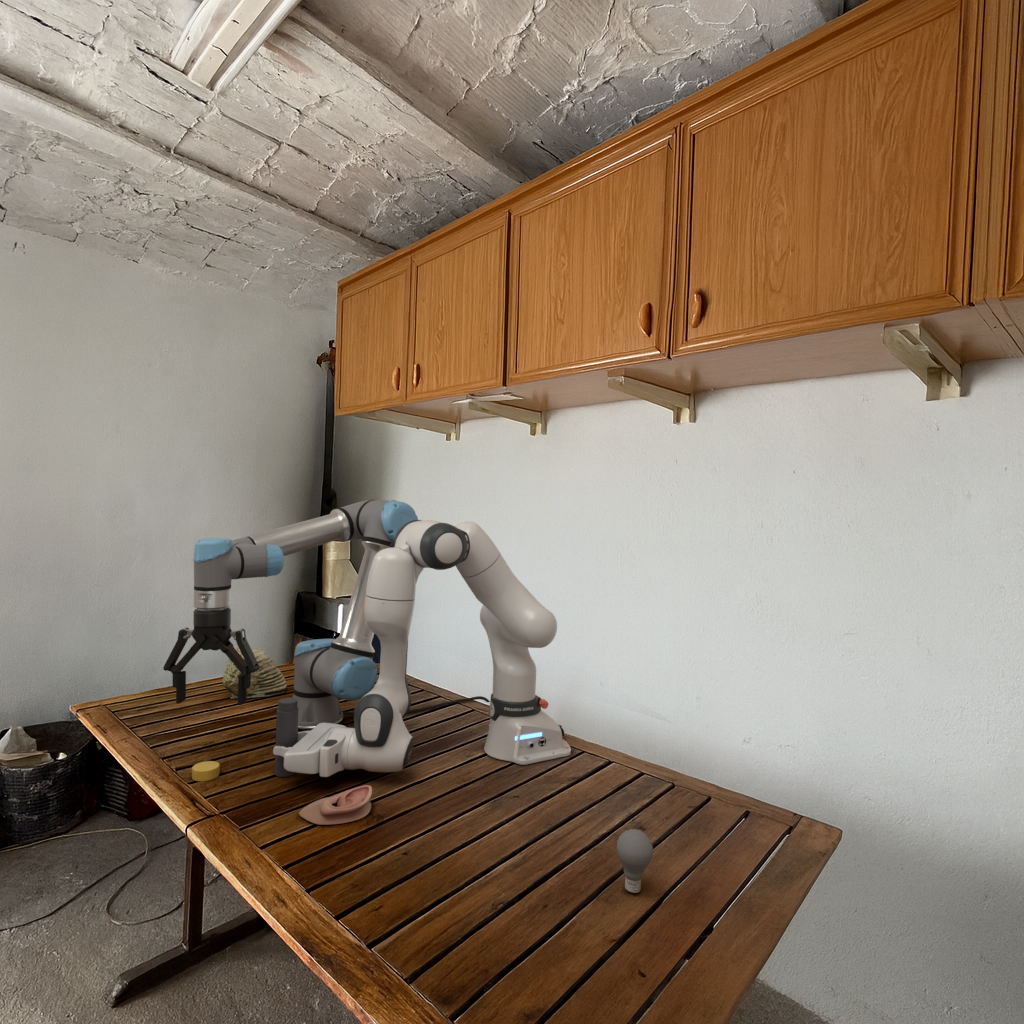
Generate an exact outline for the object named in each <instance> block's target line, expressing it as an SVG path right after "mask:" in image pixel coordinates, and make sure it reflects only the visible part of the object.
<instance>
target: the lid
mask: <svg viewBox="0 0 1024 1024" xmlns="http://www.w3.org/2000/svg"><path fill="white" fill-rule="evenodd" d="M220 771H221V766H220V763H219V762H218V761H215V760H207V761H205V760H204V761H201V762H197V763H196V764H194V765H192V767H191V779H192V780H193V781H196V782H207V781H208V782H209V781H212V780H214V779H217V778H218V777H219V776H220V773H221V772H220Z"/></svg>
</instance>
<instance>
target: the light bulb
mask: <svg viewBox="0 0 1024 1024" xmlns="http://www.w3.org/2000/svg"><path fill="white" fill-rule="evenodd" d="M615 849H616V854H617V857H618V859H619V861H620V863H621V865H622V867H623V873H624V874H623V875H624V876H625V878H624V888H625V890H627V891H628V892H630V893H634V894H635V893H639V892H640V891H641V889H642V887H641V886H642V879H643V877H644V875H645V871H646V868H647V867H648V866H649V864H650V863H651V861H652V859H653V855H654V847H653V843H652V841H651V838H649V836H648V835H647V834H646V833H645V832H643V831H642V830H641V829H636V828H629V829H627V830H625V831H623V832H622V833H621V834H620V835H619V837H618V839H617V841H616V847H615Z"/></svg>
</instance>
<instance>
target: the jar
mask: <svg viewBox="0 0 1024 1024" xmlns="http://www.w3.org/2000/svg"><path fill="white" fill-rule="evenodd" d="M297 704H298V702H297V699H296V698H293V697H284V698H280V699H278V701H277V705H278V706H277V709H276V719H275V720H276V721H275V722H276V723H275V746H276V745H284V747H286V748H289V747H293V746H294V745H295V744H296V743H297V742H298V741H297V736H298V732H299V731H298V710H299V708H298V707H297ZM275 746H274V747H275ZM295 774H296V772H290V771H287V770H286V769H284V757H282V756H281V755H274V775H275V776H276V777H280V778H281V777H282V778H285V777H290V776H293V775H295Z"/></svg>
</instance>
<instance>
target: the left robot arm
mask: <svg viewBox="0 0 1024 1024" xmlns="http://www.w3.org/2000/svg"><path fill="white" fill-rule="evenodd" d="M413 520H419V518H418V515H417V512H416V510H415V509H414V508H413V507H412V506H411V505H410V504H408V503H407V502H404V501H398V500H395V499H394V500H393V499H392V500H381V499H366V500H365V499H364V500H361V501H358V502H354V503H351V504H347V505H344V506H341V507H337V508H334V509H332V510H331V511H330V513H329V514H325V515H322V516H318V517H314V518H311V519H307V520H304V521H299V522H296V523H292V524H289V525H285V526H281V527H277V528H273V529H269V530H265V531H262V532H258V533H255V534H251V535H247V536H244V537H240V538H236V539H229V538H227V537H204V538H199V539H197V540H196V541H195V543H194V549H193V559H192V561H193V607H194V608H195V609H194V610H193V618H192V619H193V623H192V624H193V629H190V628H189V627H184V628H182V629H180V630H179V631H178V635H177V639H176V642H175V644H174V646H173V647H172V649H171V651H170V653H169V656H168V658H167V659H166V661H165V663H164V665H163V668H162V669H163V671H164V672H166V671H167V672H170V673H171V674H172V688H175V704H181V703H183V702H184V701H186V700H187V670H184V668H185V667H186V666H187V665H188V664H189V662H191V660H192V659H193V658H194V657H195V655H197V653H198V652H199V651H200V650H202V651H210V650H211V651H219V650H220V651H221V652H222V653H223V654H225V656H226V657H227V658H228V660H229V659H230V660H231V661H232V662H233V664H234V665H235V666H236V667H237V668H238V670H239V671H240V672H241V673H242V674H240V675H239V676H238V698H237V705H238V706H242V705H244V703H246V702H247V698H246V689H248V688H249V687H250V685H251V673H254V672H255V671H257V670H258V669H259V668H260V666H259V664H258V662H257V660H256V658H255V656H254V654H253V652H252V650H251V649H252V648H251V646H250V644H249V642H248V640H247V636H246V635H247V633H246V630H245V629H244V628H240V629H237V630H232V627H231V623H232V616H231V615H232V608H230V606H231V605H232V580H241V579H254V578H268V577H273V576H279V574H281V573H282V572H283V569H284V566H285V556H286V557H287V556H290V555H293V554H296V553H299V552H302V551H303V552H304V551H305V550H309V549H312V548H316V547H318V546H323V545H325V544H330V543H332V542H336V541H338V542H340V543H345V542H348V541H353V540H361V544H362V546H363V548H364V553H363V556H362V559H361V564H360V565H359V566H360V567H359V570H358V573H357V577H356V580H355V583H354V586H353V590H352V593H351V596H350V600H349V603H348V606H347V610H346V613H345V616H344V619H343V623H342V626H341V630H340V633H339V636H337V637H336V638H318V639H308V640H304V641H300V642H299V643H297V644H296V646H295V650H294V655H293V657H294V672H293V673H294V674H293V695H292V696H293V697H292V698H296V699H297V702H298V704H297V707H298V708H299V710H298V732H303V731H311V730H312V729H313V728H315V727H316V726H317V725H318V724H319V723H333V724H339V725H342V723H343V722H344V716H350V717H351V716H352V717H354V711H353V712H352V711H343V709H342V706H341V702H340V699H341V700H344V701H350V702H353V701H357V700H360V699H361V698H362V697H363V696H364V695H365V694H367V693H368V692H369V691H371V690H372V689H373V688H374V686H375V685H376V682H377V678H378V668H377V667H376V665H377V664H375V662H374V656H375V653H376V651H375V649H374V647H373V645H372V642H373V639H374V635H375V634H374V633H373V632H372V631H371V630H370V629H369V628H368V626H367V625H366V622H365V611H364V606H365V595H366V587H367V581H368V577H369V572H370V568H371V565H372V562H373V559H374V556H375V555H376V554H377V553H378V552H379V551H381V550H383V549H386V548H390V544H391V543H392V541H393V540H394V538H395V535H396V533H397V531H398V530H399V529H400V527H401V526H403V525H404V524H405V523H407V522H410V521H413ZM391 548H393V547H391ZM191 637H192V638H193V640H194V641H195V642H194V643H193V644H192V646H190V648H189V649H188V650H187V652H186V653H185V654H184V655H183V657H181V659H180V660H179V658H180V656H181V654H182V652H183V650H184V648H185V647H186V644H187V642H188V640H189V639H191ZM231 638H233V640H234V641H235V642H236V645H237V648H238V647H239V649H240V651H241V653H242V655H243V657H244V659H245V660H244V659H243V658H242V657H241V655H240V654H239V653H238V652H237V651H236V649H237V648H235V647H234V644H233V643H232V642H231V640H230V639H231ZM178 660H179V661H178ZM177 661H178V662H177ZM476 700H482V701H484V702H486V703H490V700H489V698H486V697H485V696H481V695H478V696H477V695H476V696H471V697H465V698H459V699H453V700H450V701H446V702H441V703H437V704H433V705H427V706H423V707H419V708H418V707H417V708H412V709H411V708H410V709H409V711H408V713H407V714H413V713H418V712H423V711H429V710H434V709H436V708H440V707H444V706H448V705H449V706H450V705H454V704H458V703H465V702H471V701H476Z"/></svg>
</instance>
